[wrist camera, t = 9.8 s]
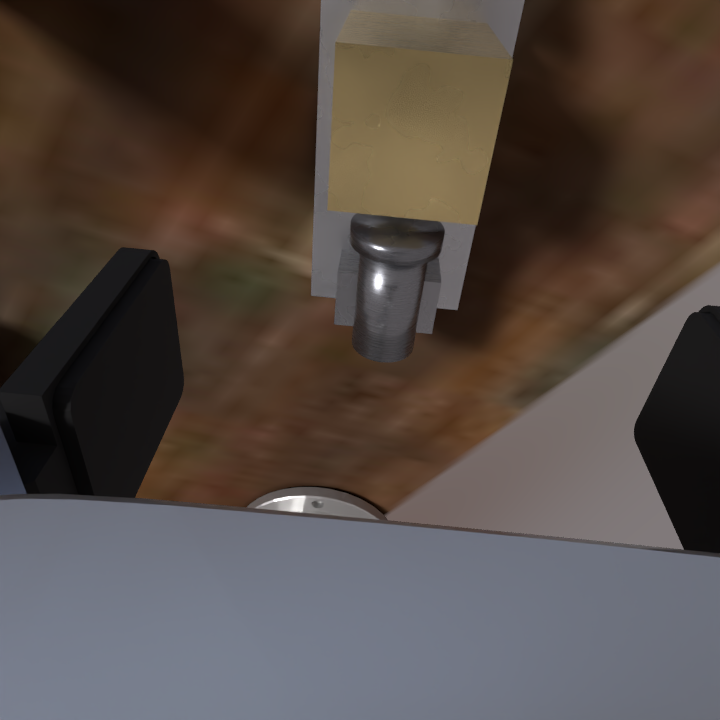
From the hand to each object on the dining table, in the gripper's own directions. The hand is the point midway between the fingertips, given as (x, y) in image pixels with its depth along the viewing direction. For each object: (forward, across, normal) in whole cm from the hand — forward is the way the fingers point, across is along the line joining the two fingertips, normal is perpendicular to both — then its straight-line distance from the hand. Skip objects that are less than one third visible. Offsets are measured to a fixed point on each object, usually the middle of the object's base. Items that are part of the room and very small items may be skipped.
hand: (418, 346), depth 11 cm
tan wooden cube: (+18, 0, 0) cm, 18 cm away
